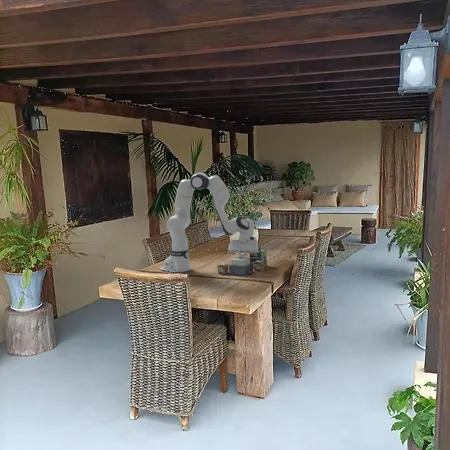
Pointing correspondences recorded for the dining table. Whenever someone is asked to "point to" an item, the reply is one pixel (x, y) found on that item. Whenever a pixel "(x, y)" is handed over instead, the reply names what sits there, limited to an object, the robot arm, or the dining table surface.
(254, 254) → the chalk box
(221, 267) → the walnut block left
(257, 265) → the walnut block right
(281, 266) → the dining table surface
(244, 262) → the plain block
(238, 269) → the gray tray
